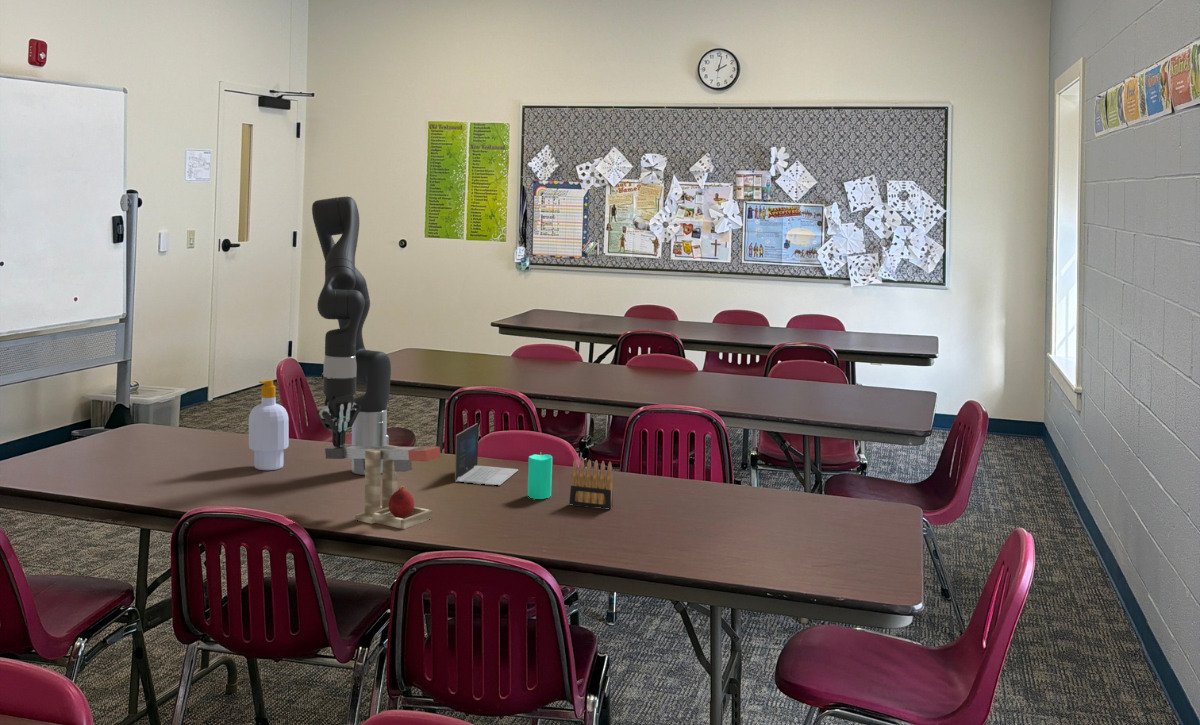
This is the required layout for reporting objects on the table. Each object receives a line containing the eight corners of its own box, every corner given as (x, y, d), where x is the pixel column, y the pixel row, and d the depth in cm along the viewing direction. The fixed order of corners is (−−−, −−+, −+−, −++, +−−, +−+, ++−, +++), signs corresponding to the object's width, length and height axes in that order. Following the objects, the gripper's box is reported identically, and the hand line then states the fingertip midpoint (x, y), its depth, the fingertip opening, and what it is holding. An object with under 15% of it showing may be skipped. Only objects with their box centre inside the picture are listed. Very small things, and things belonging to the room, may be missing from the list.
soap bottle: (240, 469, 271) (239, 380, 268) (266, 461, 281) (266, 376, 278) (271, 474, 268) (270, 384, 264) (296, 466, 277) (296, 379, 274)
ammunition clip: (612, 508, 248) (614, 460, 247) (610, 510, 247) (612, 462, 245) (571, 503, 251) (572, 456, 249) (569, 505, 249) (570, 458, 248)
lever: (327, 470, 237) (325, 448, 237) (341, 466, 242) (340, 444, 241) (427, 473, 223) (425, 450, 223) (441, 469, 227) (439, 446, 227)
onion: (408, 524, 228) (408, 490, 227) (384, 522, 229) (384, 488, 228) (417, 517, 234) (418, 484, 233) (394, 515, 235) (394, 482, 234)
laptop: (499, 487, 264) (500, 438, 262) (454, 483, 266) (455, 435, 265) (518, 471, 281) (520, 426, 280) (476, 468, 284) (477, 422, 282)
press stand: (355, 519, 230) (355, 451, 228) (389, 508, 241) (390, 442, 238) (401, 530, 224) (402, 460, 222) (434, 517, 234) (436, 450, 232)
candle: (555, 495, 257) (556, 450, 256) (544, 501, 252) (545, 454, 250) (534, 492, 260) (536, 446, 258) (523, 497, 254) (524, 451, 253)
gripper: (347, 369, 243) (346, 439, 246) (307, 375, 232) (306, 448, 234) (371, 373, 240) (369, 444, 242) (332, 379, 228) (330, 453, 231)
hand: (338, 446), depth 238 cm, fingers closed
